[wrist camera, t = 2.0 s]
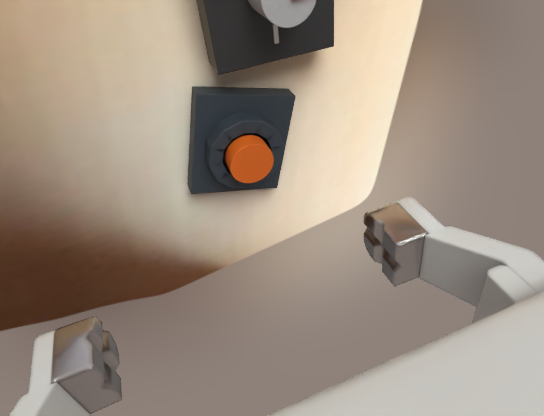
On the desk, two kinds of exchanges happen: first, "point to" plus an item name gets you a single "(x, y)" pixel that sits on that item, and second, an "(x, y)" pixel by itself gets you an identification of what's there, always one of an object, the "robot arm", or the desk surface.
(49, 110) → the desk surface
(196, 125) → the button block
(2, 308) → the desk surface
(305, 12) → the timer dial
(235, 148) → the power button
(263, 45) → the dial panel
